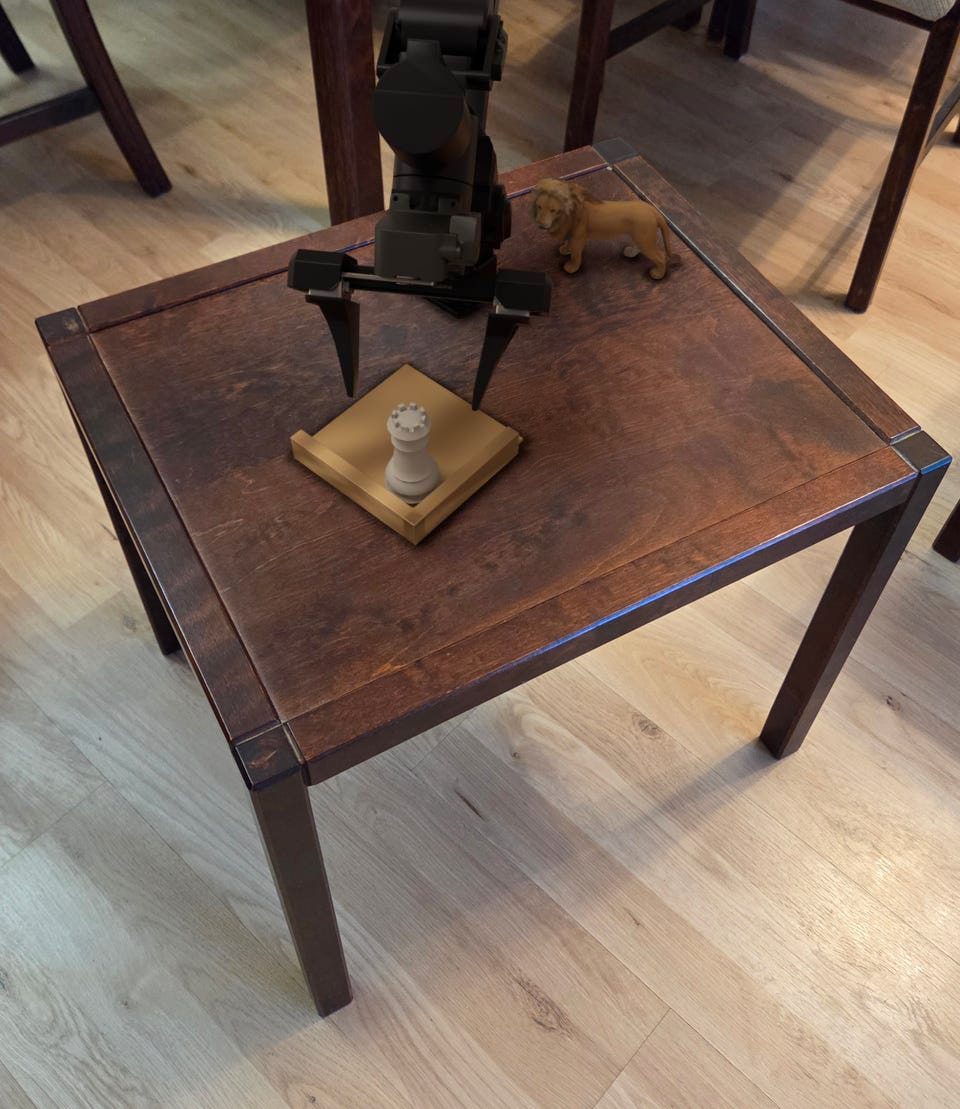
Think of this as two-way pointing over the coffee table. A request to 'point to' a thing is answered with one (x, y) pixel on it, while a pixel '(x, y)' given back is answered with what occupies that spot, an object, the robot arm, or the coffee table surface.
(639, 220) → the lion figurine
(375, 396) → the corner guide
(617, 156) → the coffee table surface
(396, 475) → the rook chess piece
